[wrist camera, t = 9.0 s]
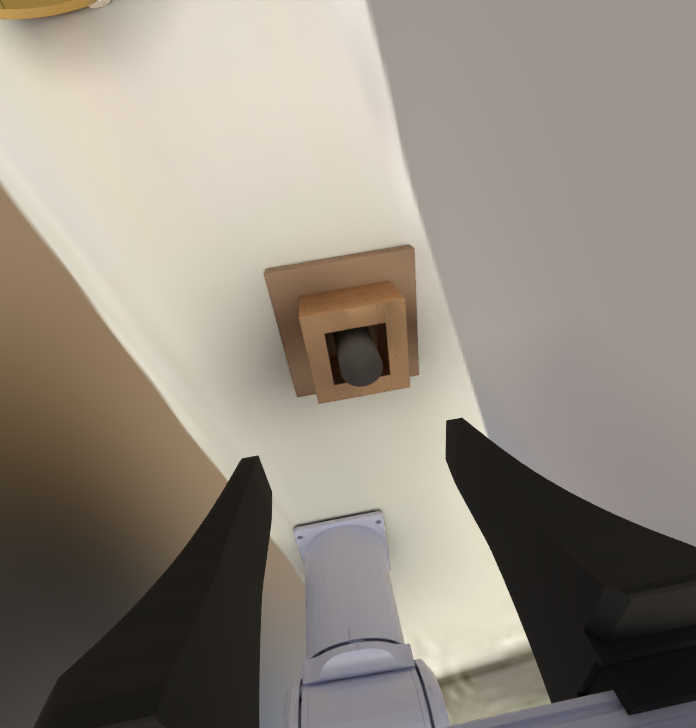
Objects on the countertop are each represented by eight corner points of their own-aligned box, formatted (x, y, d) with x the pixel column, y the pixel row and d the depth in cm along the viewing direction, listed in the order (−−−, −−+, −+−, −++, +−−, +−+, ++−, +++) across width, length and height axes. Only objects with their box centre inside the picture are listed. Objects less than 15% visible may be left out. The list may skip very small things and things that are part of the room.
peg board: (414, 367, 22) (444, 418, 17) (297, 388, 22) (295, 447, 17) (409, 244, 18) (446, 268, 13) (265, 269, 18) (252, 302, 13)
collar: (395, 358, 21) (409, 386, 18) (316, 373, 20) (318, 403, 18) (389, 280, 18) (405, 298, 15) (299, 295, 18) (298, 317, 15)
